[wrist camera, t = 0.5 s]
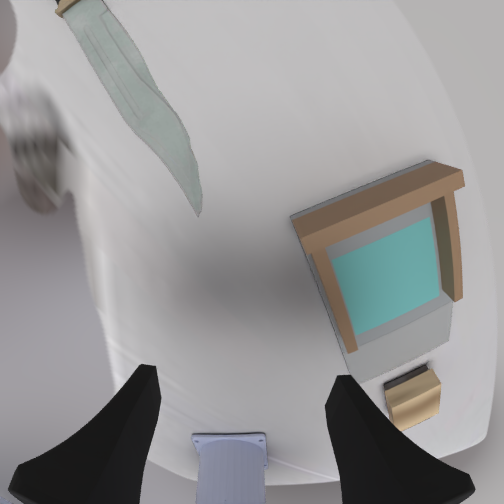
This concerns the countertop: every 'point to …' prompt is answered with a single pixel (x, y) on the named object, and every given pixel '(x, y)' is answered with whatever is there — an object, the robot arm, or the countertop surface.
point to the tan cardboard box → (413, 398)
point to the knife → (133, 89)
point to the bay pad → (389, 276)
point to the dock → (370, 230)
